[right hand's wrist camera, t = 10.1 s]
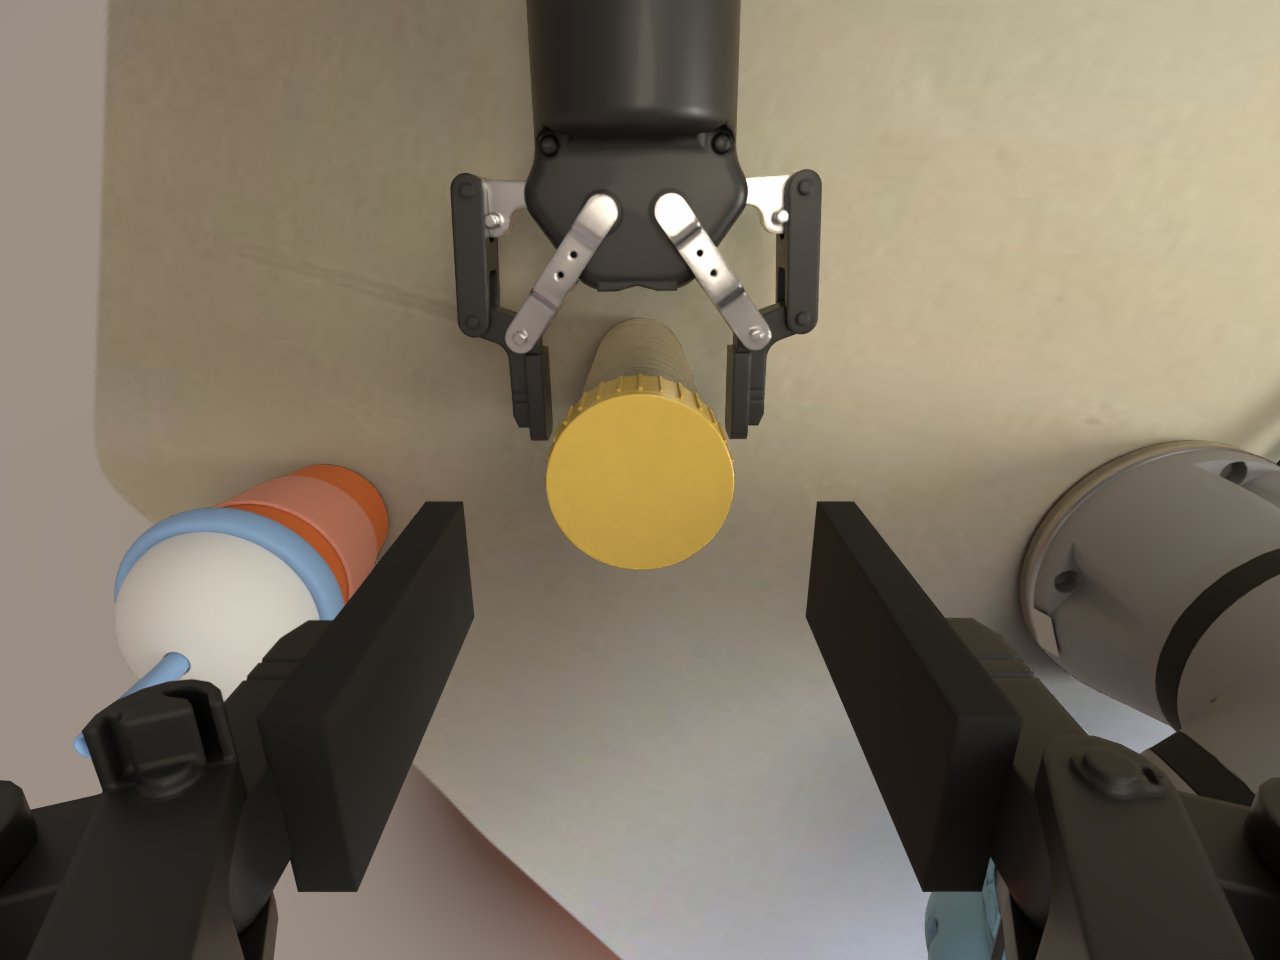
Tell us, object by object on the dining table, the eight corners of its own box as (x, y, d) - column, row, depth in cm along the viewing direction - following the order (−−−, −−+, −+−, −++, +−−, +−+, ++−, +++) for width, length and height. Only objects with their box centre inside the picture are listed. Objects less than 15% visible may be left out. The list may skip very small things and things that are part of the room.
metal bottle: (654, 300, 34) (668, 367, 18) (700, 377, 35) (752, 505, 19) (578, 349, 35) (524, 455, 18) (626, 422, 36) (614, 581, 20)
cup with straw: (225, 536, 38) (-102, 779, 21) (291, 404, 36) (-24, 564, 19) (372, 613, 40) (177, 895, 23) (445, 493, 37) (284, 713, 20)
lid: (669, 338, 19) (673, 352, 17) (757, 484, 21) (771, 515, 19) (519, 431, 20) (504, 456, 18) (613, 564, 22) (610, 603, 20)
